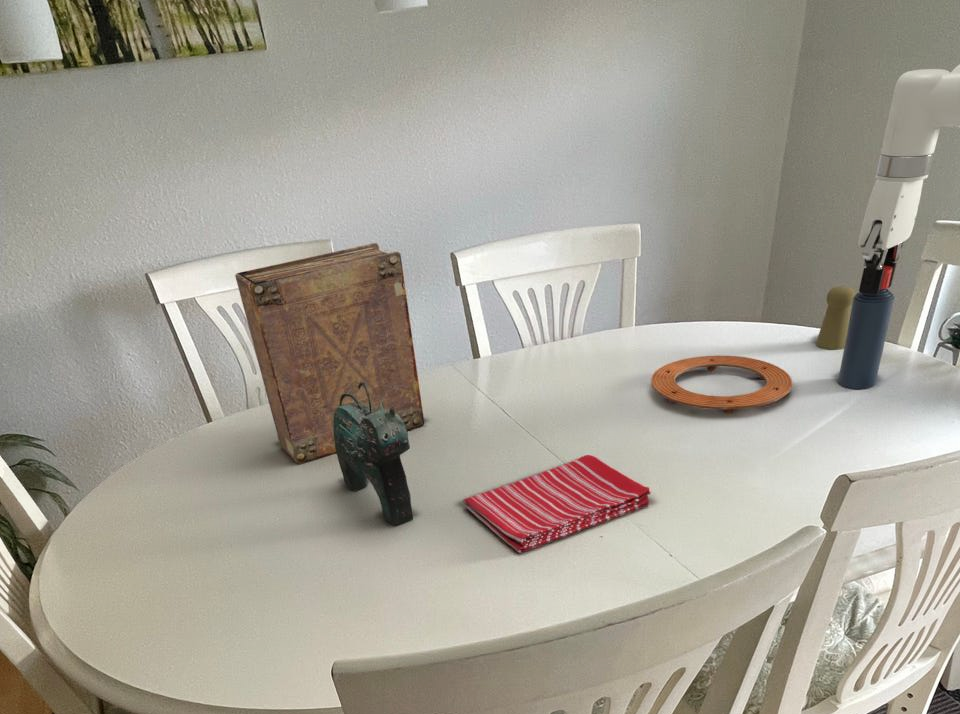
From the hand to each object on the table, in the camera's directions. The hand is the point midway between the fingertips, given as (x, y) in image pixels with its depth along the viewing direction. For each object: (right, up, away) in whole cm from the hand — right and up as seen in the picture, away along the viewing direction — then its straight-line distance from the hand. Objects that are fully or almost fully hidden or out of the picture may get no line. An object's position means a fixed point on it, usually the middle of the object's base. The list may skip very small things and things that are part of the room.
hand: (874, 288), depth 134 cm
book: (-91, -23, +10) cm, 95 cm away
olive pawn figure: (+4, 0, +26) cm, 26 cm away
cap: (0, 0, 0) cm, 0 cm away
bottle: (+2, -13, +10) cm, 16 cm away
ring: (-23, -14, +13) cm, 30 cm away
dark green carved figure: (-84, -39, -10) cm, 94 cm away
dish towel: (-56, -40, -16) cm, 71 cm away
